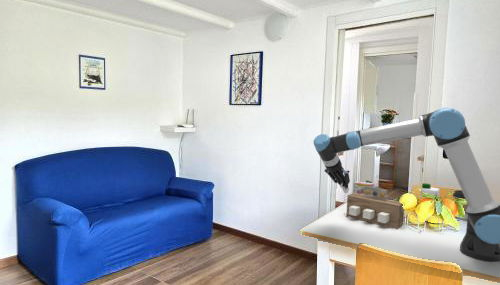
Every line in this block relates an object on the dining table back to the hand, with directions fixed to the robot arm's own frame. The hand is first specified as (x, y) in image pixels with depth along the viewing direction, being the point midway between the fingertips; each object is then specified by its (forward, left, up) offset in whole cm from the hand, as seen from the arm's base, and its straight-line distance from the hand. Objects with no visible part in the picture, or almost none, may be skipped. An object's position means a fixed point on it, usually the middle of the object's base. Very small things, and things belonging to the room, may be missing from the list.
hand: (346, 190), depth 178 cm
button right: (+7, -18, -15) cm, 25 cm away
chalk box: (+52, -7, -18) cm, 55 cm away
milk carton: (+31, -40, -18) cm, 53 cm away
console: (+16, -13, -18) cm, 27 cm away
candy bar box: (+35, -5, -18) cm, 40 cm away
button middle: (+10, -11, -15) cm, 21 cm away
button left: (+13, -3, -15) cm, 20 cm away
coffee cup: (+46, -58, -18) cm, 76 cm away
